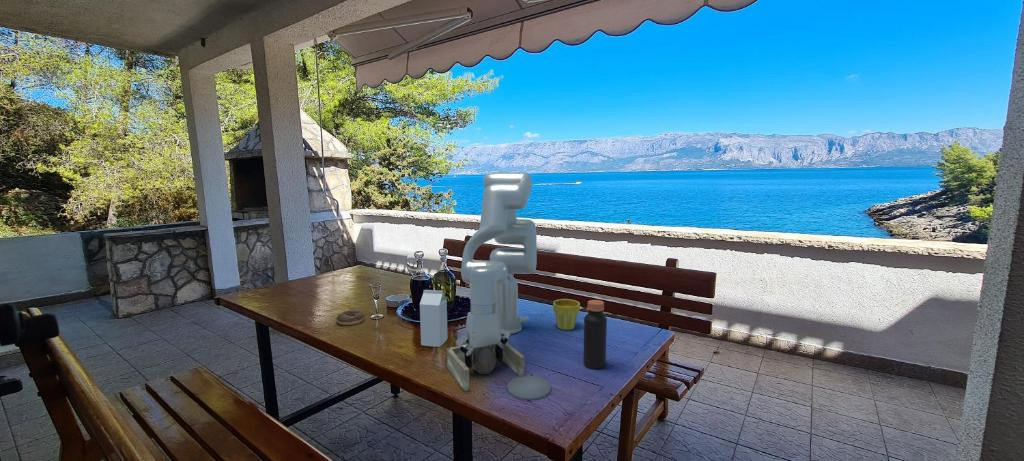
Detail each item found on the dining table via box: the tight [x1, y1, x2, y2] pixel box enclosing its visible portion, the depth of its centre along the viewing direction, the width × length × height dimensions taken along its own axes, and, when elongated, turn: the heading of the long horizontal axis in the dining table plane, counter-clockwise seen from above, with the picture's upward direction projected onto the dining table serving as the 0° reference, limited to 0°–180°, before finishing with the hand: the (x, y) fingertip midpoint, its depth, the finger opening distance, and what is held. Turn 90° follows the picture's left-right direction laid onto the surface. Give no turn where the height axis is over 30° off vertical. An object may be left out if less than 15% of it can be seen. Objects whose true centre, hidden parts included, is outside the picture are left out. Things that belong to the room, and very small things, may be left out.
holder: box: [445, 337, 525, 392], centre depth 121 cm, size 18×16×6 cm
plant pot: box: [552, 298, 581, 331], centre depth 158 cm, size 10×10×10 cm
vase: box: [472, 346, 497, 375], centre depth 121 cm, size 7×7×9 cm
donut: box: [336, 309, 366, 326], centre depth 165 cm, size 11×11×4 cm
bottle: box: [582, 299, 608, 370], centre depth 125 cm, size 7×7×20 cm
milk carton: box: [419, 289, 448, 348], centre depth 142 cm, size 7×7×19 cm
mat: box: [506, 375, 552, 401], centre depth 112 cm, size 12×12×1 cm
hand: (484, 363), depth 122 cm, fingers open, 9 cm apart
